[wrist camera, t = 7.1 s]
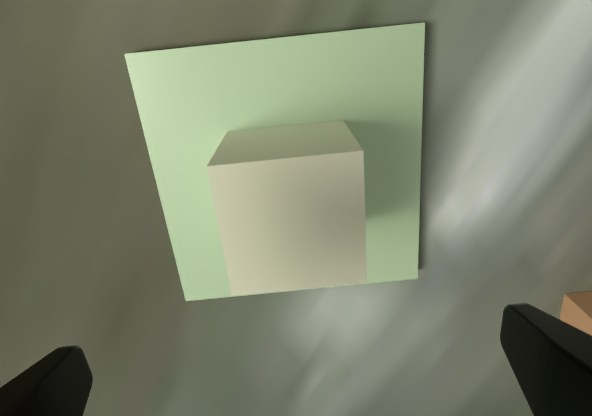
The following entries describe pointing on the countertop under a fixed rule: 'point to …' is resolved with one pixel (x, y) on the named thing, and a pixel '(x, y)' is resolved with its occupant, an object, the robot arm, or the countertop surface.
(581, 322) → the terracotta brick
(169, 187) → the plate
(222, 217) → the cream brick
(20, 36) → the countertop surface
